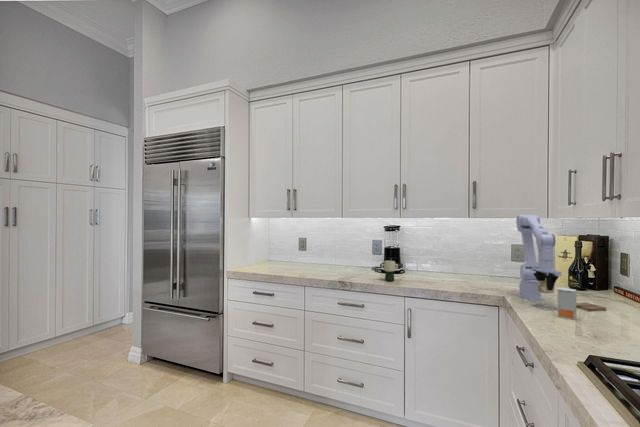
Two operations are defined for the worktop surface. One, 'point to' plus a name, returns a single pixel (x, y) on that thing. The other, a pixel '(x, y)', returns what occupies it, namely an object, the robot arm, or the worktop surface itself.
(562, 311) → the skincare box
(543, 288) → the birch block
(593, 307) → the walnut board
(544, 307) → the slate tile
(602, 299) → the worktop surface
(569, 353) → the worktop surface
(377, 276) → the worktop surface
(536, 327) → the worktop surface
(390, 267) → the character mug
